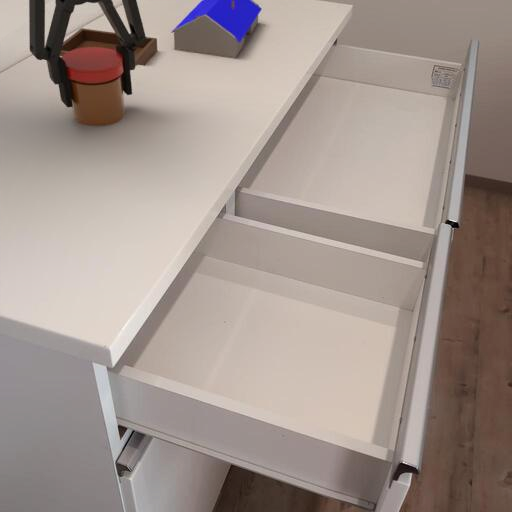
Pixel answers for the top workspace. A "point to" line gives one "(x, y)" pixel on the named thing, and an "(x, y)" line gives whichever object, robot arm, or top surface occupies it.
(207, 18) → the toy house
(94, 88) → the jar
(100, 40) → the tray
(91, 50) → the cap
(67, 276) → the top surface
